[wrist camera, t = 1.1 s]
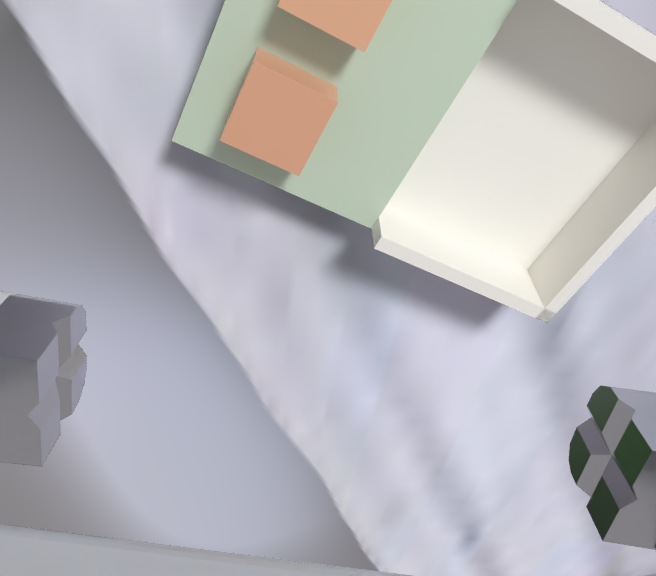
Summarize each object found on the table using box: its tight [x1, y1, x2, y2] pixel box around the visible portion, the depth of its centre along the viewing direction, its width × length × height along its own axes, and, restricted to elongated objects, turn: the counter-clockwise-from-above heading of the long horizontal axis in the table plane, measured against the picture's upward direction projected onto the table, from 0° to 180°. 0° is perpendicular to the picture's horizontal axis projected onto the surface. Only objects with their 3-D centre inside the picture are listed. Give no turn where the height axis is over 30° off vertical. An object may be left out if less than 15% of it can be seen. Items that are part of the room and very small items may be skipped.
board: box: [172, 0, 518, 229], centre depth 37 cm, size 18×14×3 cm
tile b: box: [220, 47, 338, 176], centre depth 36 cm, size 5×5×2 cm
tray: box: [372, 0, 656, 323], centre depth 40 cm, size 18×14×5 cm
